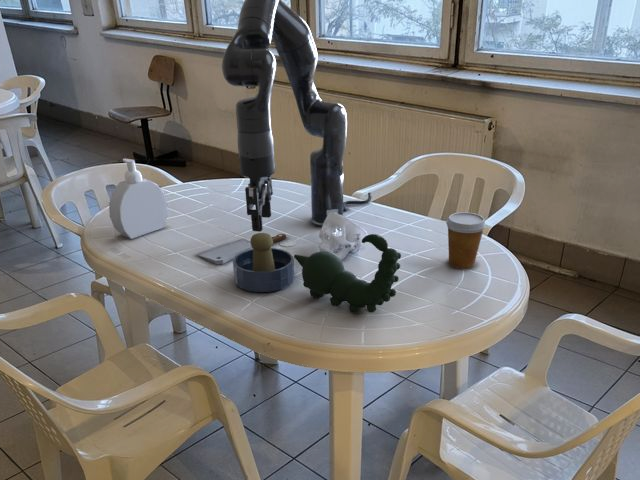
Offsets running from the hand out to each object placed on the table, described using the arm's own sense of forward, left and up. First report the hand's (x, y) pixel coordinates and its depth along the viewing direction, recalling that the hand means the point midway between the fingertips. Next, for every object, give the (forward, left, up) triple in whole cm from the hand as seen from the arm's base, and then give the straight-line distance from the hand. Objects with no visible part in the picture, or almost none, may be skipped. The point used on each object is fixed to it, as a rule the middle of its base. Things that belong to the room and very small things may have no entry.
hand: (262, 223), depth 140 cm
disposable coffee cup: (-16, +47, -15) cm, 51 cm away
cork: (0, 0, -14) cm, 14 cm away
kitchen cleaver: (-19, -10, -15) cm, 26 cm away
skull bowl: (-19, +16, -15) cm, 29 cm away
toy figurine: (+9, +20, -15) cm, 26 cm away
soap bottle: (-27, -42, -15) cm, 52 cm away
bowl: (0, 0, -14) cm, 14 cm away
